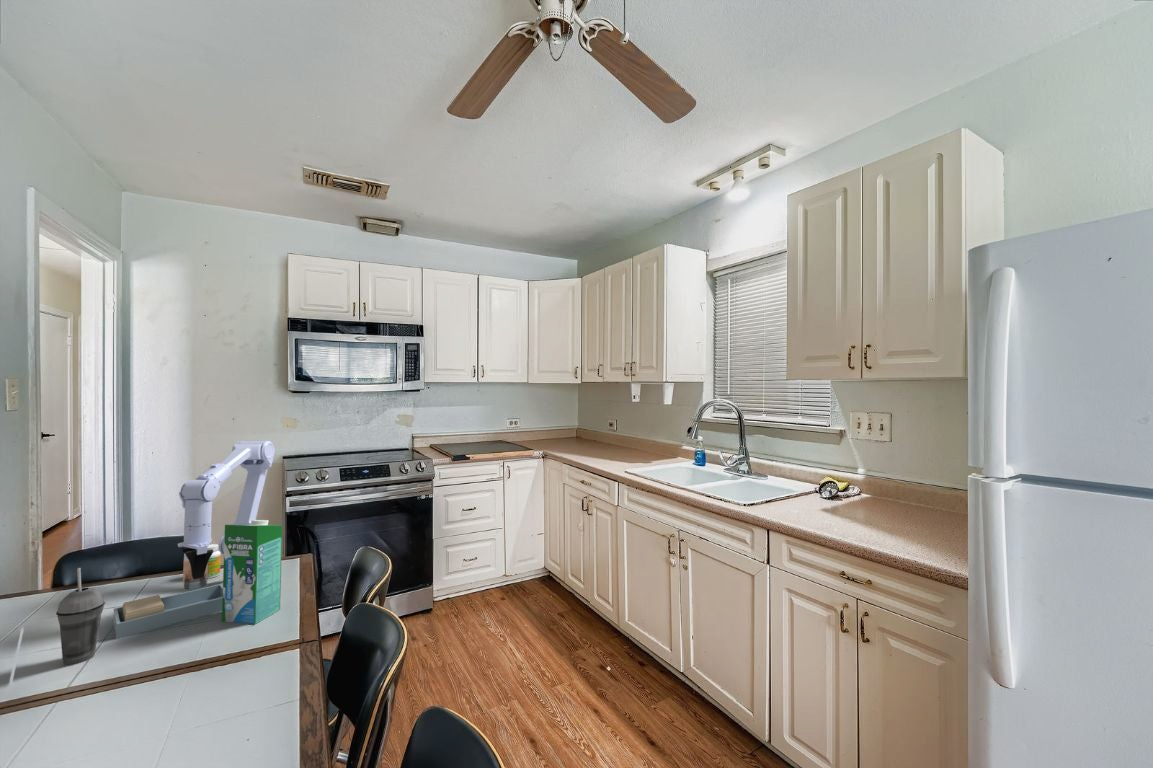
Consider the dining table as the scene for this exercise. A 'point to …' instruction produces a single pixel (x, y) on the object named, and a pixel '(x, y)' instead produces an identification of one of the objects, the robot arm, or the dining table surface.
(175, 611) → the tote
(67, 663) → the beverage cup
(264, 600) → the milk carton
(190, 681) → the dining table surface
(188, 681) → the dining table surface
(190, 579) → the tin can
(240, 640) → the dining table surface
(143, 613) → the plain tan box
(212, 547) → the supplement bottle
